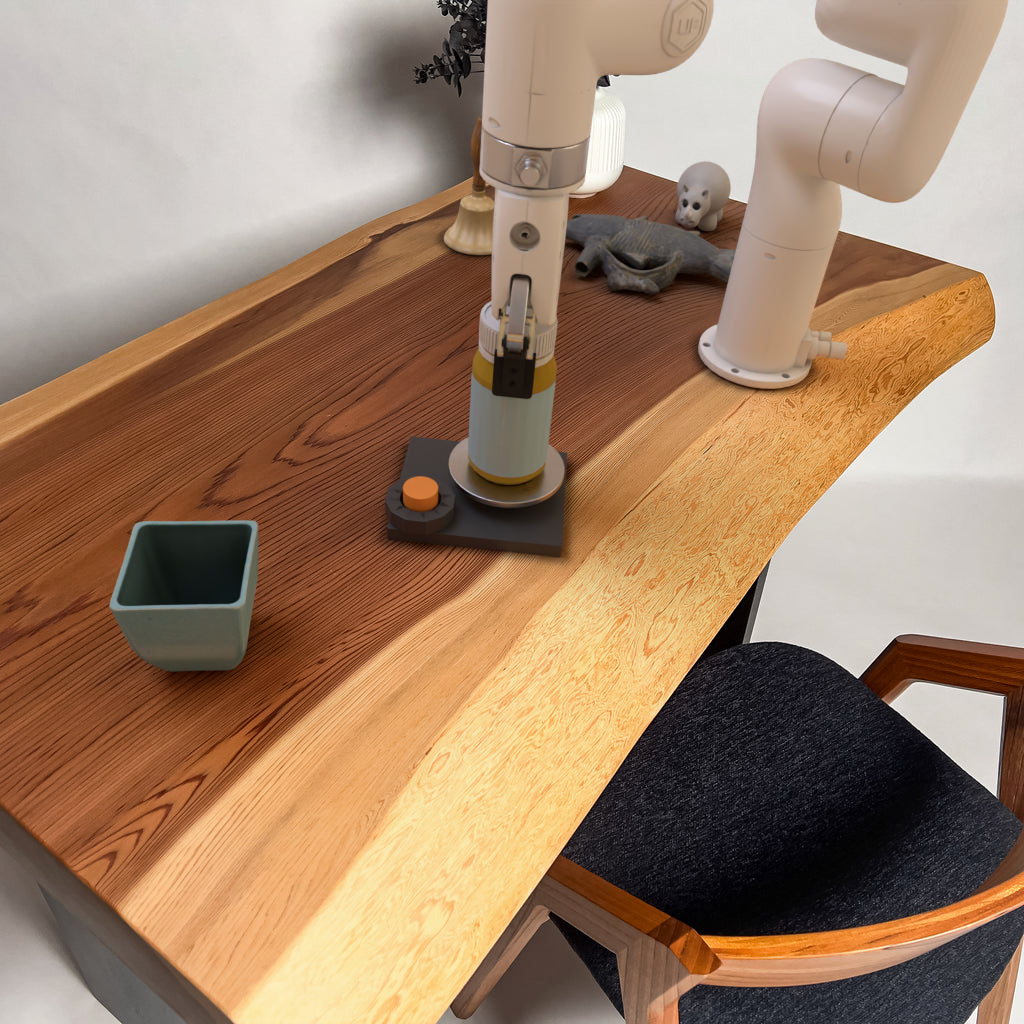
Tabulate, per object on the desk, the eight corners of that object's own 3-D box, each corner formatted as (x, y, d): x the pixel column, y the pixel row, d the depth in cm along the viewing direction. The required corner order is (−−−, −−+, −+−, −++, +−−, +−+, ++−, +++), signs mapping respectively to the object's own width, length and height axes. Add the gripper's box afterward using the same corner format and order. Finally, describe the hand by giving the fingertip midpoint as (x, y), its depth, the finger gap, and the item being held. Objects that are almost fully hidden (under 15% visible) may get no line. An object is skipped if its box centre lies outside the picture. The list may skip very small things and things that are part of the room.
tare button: (440, 491, 84) (440, 478, 83) (435, 514, 82) (435, 500, 81) (406, 488, 84) (406, 474, 83) (400, 510, 82) (400, 497, 81)
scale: (565, 463, 92) (569, 439, 90) (560, 561, 82) (563, 536, 80) (406, 447, 92) (406, 422, 90) (381, 542, 82) (380, 517, 80)
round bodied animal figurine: (653, 240, 130) (664, 178, 124) (679, 207, 138) (691, 148, 132) (704, 253, 128) (717, 191, 122) (728, 220, 136) (742, 160, 130)
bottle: (548, 443, 88) (565, 298, 78) (542, 493, 83) (560, 344, 73) (473, 435, 89) (480, 289, 78) (462, 483, 83) (469, 333, 73)
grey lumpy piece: (580, 189, 127) (531, 244, 118) (764, 234, 120) (726, 297, 111) (579, 223, 131) (531, 279, 122) (756, 269, 124) (719, 332, 114)
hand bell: (515, 234, 128) (525, 112, 117) (494, 261, 122) (502, 135, 111) (457, 221, 129) (461, 100, 119) (433, 247, 123) (436, 121, 113)
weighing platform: (566, 440, 90) (566, 435, 90) (561, 514, 82) (562, 508, 82) (455, 429, 90) (456, 424, 90) (441, 501, 82) (441, 496, 82)
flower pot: (156, 603, 76) (134, 519, 70) (270, 602, 77) (259, 518, 71) (132, 693, 69) (106, 609, 63) (258, 691, 70) (244, 607, 64)
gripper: (584, 213, 61) (556, 437, 73) (589, 116, 74) (564, 319, 86) (466, 201, 61) (457, 426, 73) (492, 106, 74) (481, 310, 86)
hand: (515, 367), depth 79 cm, fingers closed on bottle, 7 cm apart
